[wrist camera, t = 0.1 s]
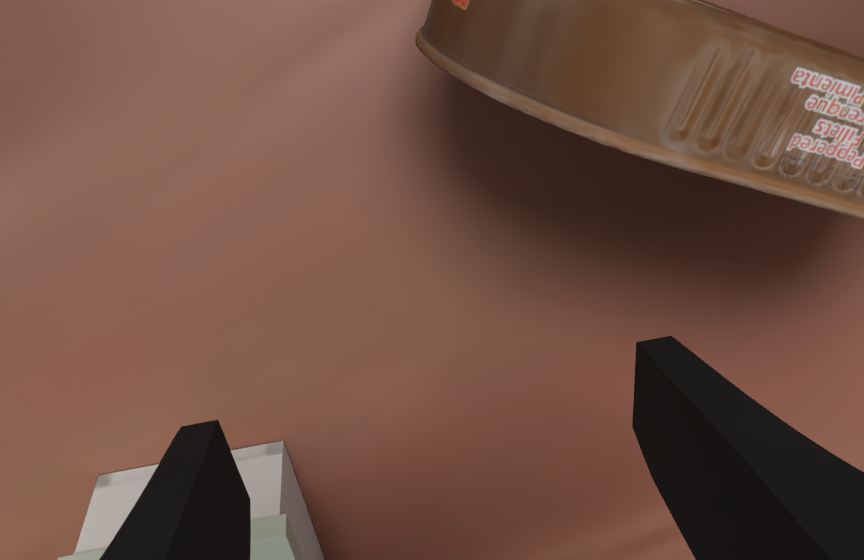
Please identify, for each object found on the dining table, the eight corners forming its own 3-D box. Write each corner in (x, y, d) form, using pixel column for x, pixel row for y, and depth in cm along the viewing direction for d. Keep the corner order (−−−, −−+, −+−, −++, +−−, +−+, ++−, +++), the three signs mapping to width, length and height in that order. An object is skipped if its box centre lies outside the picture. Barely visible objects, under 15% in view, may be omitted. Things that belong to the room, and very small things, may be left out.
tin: (393, 11, 18) (441, 144, 12) (432, -124, 17) (515, -64, 10) (854, 153, 23) (1092, 313, 16) (919, 55, 21) (1214, 185, 14)
